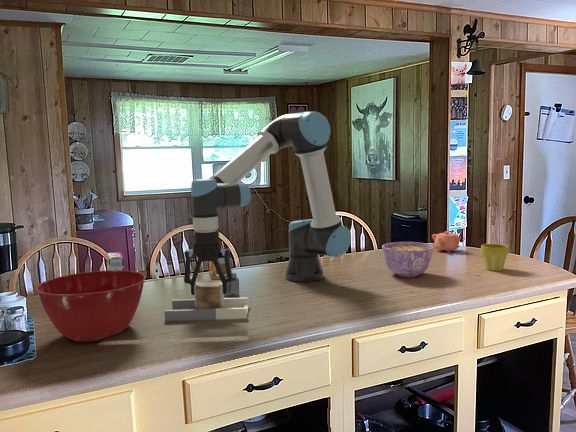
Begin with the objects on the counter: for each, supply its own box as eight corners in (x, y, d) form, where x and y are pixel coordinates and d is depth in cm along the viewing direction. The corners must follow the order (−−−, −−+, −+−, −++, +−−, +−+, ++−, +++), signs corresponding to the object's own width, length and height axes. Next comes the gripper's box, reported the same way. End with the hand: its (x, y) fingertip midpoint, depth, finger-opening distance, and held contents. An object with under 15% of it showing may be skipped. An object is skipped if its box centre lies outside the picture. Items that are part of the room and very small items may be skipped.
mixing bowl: (69, 318, 157) (65, 269, 155) (160, 317, 156) (157, 268, 154) (19, 354, 129) (13, 295, 127) (129, 352, 128) (125, 293, 126)
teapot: (438, 254, 240) (438, 233, 239) (430, 249, 252) (431, 230, 251) (462, 253, 241) (463, 233, 240) (453, 248, 253) (454, 229, 251)
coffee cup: (227, 291, 183) (225, 251, 181) (205, 291, 185) (203, 250, 183) (234, 285, 191) (233, 246, 189) (213, 285, 193) (211, 246, 191)
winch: (246, 298, 174) (245, 275, 173) (244, 306, 165) (243, 282, 164) (220, 299, 174) (219, 276, 173) (217, 307, 165) (216, 283, 164)
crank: (236, 277, 170) (236, 258, 169) (236, 279, 167) (235, 260, 166) (210, 278, 170) (209, 259, 169) (209, 280, 166) (208, 261, 165)
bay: (248, 309, 162) (248, 297, 161) (246, 321, 150) (246, 308, 149) (173, 311, 161) (172, 299, 161) (165, 324, 149) (164, 311, 149)
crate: (223, 305, 159) (221, 280, 158) (220, 312, 152) (219, 286, 151) (200, 306, 159) (198, 281, 158) (196, 313, 152) (194, 287, 151)
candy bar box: (126, 304, 170) (123, 256, 168) (111, 306, 168) (107, 258, 166) (123, 296, 181) (120, 251, 179) (108, 298, 179) (105, 252, 177)
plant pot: (495, 265, 214) (495, 242, 213) (513, 270, 204) (514, 246, 203) (475, 267, 210) (475, 244, 209) (493, 273, 201) (493, 248, 199)
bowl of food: (426, 283, 188) (426, 252, 186) (374, 277, 198) (374, 248, 196) (439, 271, 205) (439, 243, 204) (391, 267, 215) (391, 240, 214)
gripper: (240, 227, 156) (243, 299, 159) (175, 229, 156) (179, 302, 159) (238, 231, 149) (241, 307, 151) (170, 233, 148) (174, 309, 151)
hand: (209, 304), depth 155 cm, fingers closed on crate, 7 cm apart
